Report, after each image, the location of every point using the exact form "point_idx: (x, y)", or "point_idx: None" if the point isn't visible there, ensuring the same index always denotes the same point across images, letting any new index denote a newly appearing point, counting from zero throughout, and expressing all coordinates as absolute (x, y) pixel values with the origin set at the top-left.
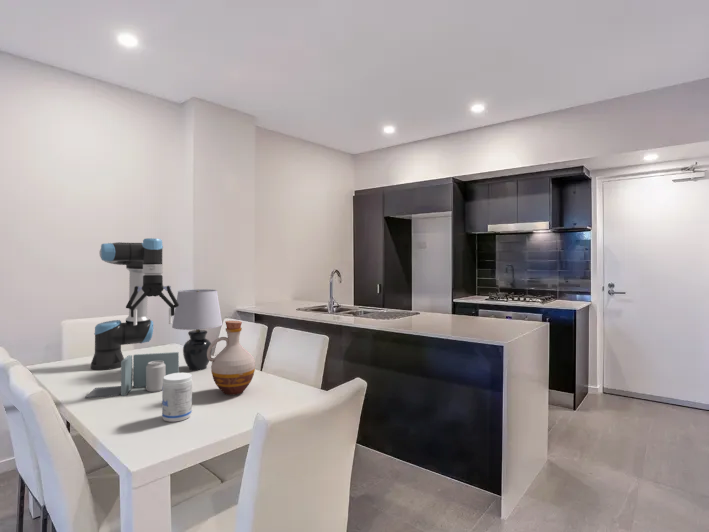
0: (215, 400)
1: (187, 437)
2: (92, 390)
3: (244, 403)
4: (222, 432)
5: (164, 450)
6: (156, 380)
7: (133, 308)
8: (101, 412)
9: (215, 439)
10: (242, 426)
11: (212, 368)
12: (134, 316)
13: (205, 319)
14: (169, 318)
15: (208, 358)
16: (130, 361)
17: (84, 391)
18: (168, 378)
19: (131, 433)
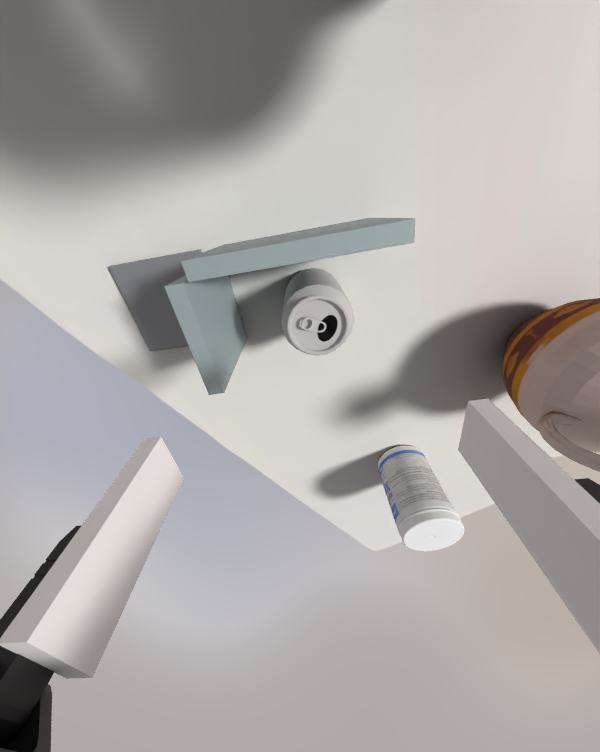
0: (476, 392)
1: None
2: (124, 297)
3: None
4: (467, 504)
5: (396, 530)
6: (325, 333)
7: (42, 711)
8: (253, 431)
9: None
10: None
11: (526, 413)
12: (134, 565)
13: None
14: (498, 496)
15: (540, 432)
16: (202, 310)
17: (96, 287)
18: (414, 545)
19: (343, 497)
